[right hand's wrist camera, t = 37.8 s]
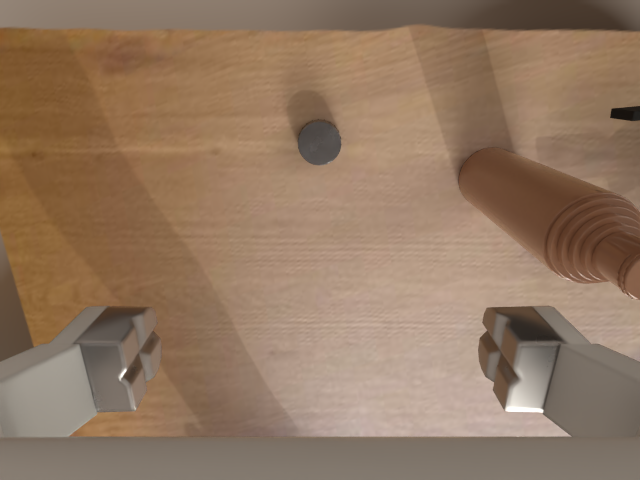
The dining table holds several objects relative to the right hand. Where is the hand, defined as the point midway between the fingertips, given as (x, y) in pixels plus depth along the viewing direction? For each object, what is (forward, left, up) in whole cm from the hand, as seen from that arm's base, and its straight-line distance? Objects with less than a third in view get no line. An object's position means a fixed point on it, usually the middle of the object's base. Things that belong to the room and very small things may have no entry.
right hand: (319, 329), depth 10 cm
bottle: (+14, -12, -34) cm, 38 cm away
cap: (0, 0, -32) cm, 32 cm away
